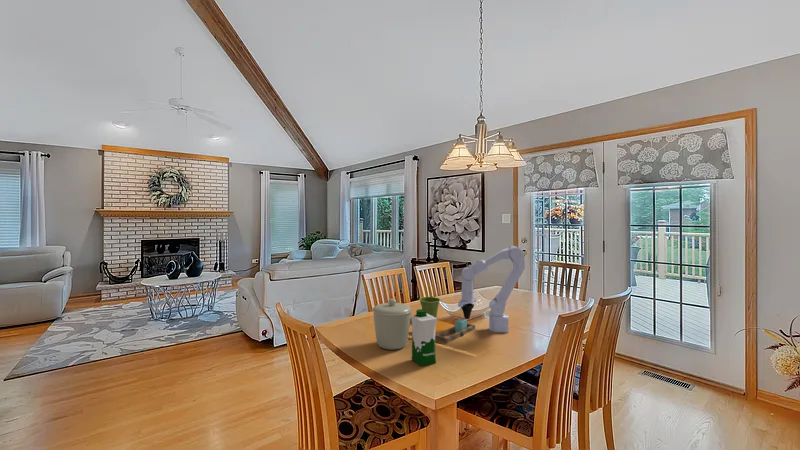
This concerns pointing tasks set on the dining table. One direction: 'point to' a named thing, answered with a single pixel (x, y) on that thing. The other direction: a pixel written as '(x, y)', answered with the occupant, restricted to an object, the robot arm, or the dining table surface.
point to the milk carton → (423, 338)
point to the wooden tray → (461, 333)
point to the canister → (392, 324)
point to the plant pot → (430, 305)
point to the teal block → (460, 324)
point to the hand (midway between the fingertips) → (466, 318)
